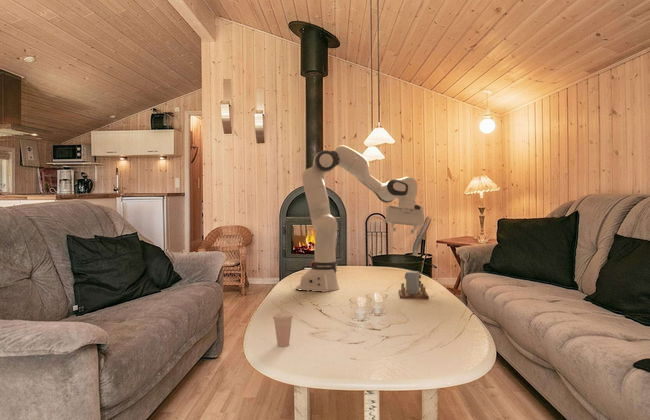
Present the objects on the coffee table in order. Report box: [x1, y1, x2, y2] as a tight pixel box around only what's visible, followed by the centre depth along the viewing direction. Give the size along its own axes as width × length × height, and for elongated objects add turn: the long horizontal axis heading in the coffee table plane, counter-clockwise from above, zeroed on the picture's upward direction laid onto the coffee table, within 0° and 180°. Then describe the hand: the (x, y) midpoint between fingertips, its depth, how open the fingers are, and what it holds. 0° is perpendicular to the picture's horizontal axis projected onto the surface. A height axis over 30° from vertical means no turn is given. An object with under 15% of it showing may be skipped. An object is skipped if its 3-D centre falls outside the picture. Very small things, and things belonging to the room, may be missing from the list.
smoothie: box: [272, 300, 294, 348], centre depth 135 cm, size 6×6×14 cm
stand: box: [398, 282, 430, 300], centre depth 202 cm, size 13×13×5 cm
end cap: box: [404, 273, 422, 286], centre depth 227 cm, size 10×7×7 cm
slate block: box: [405, 270, 420, 294], centre depth 202 cm, size 5×5×10 cm
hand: (403, 232), depth 219 cm, fingers open, 8 cm apart
